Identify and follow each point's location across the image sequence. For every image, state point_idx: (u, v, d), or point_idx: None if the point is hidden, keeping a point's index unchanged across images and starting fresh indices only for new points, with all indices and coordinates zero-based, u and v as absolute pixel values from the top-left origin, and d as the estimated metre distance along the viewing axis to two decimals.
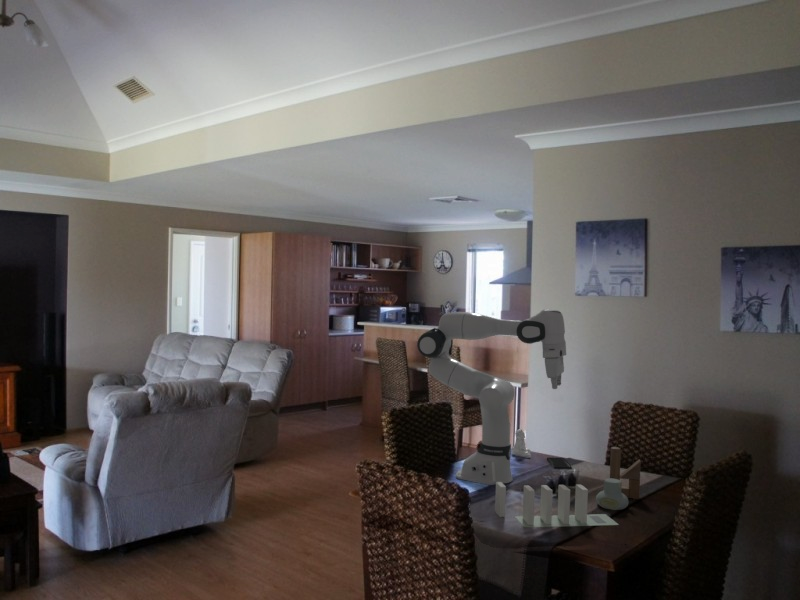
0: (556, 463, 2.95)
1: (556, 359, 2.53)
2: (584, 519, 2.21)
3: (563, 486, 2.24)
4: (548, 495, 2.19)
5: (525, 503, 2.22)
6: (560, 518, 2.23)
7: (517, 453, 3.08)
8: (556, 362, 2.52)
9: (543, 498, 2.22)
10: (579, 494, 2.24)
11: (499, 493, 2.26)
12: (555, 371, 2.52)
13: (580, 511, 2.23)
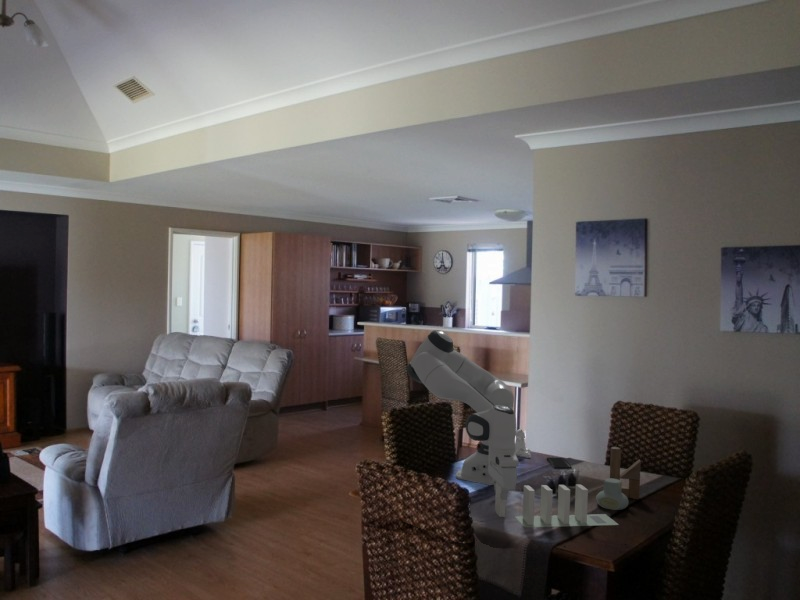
0: (556, 463, 2.95)
1: (515, 469, 2.19)
2: (584, 519, 2.21)
3: (563, 486, 2.24)
4: (548, 495, 2.19)
5: (525, 503, 2.22)
6: (560, 518, 2.23)
7: (517, 453, 3.08)
8: (516, 473, 2.19)
9: (543, 498, 2.22)
10: (579, 494, 2.24)
11: (499, 493, 2.26)
12: (514, 483, 2.18)
13: (580, 511, 2.23)
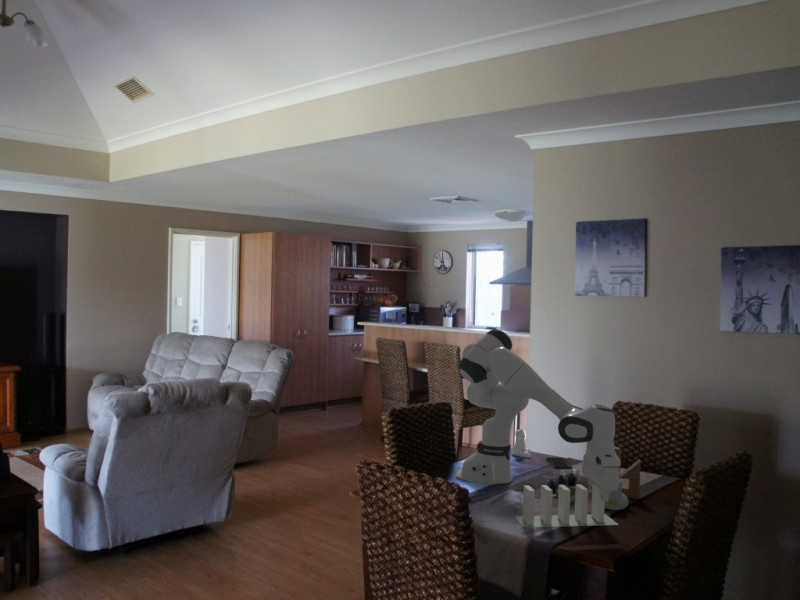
0: (556, 463, 2.95)
1: (617, 469, 2.16)
2: (584, 519, 2.21)
3: (563, 486, 2.24)
4: (548, 495, 2.19)
5: (525, 503, 2.22)
6: (560, 518, 2.23)
7: (517, 453, 3.08)
8: (618, 472, 2.16)
9: (543, 498, 2.22)
10: (579, 494, 2.24)
11: (597, 495, 2.23)
12: (617, 483, 2.15)
13: (580, 511, 2.23)
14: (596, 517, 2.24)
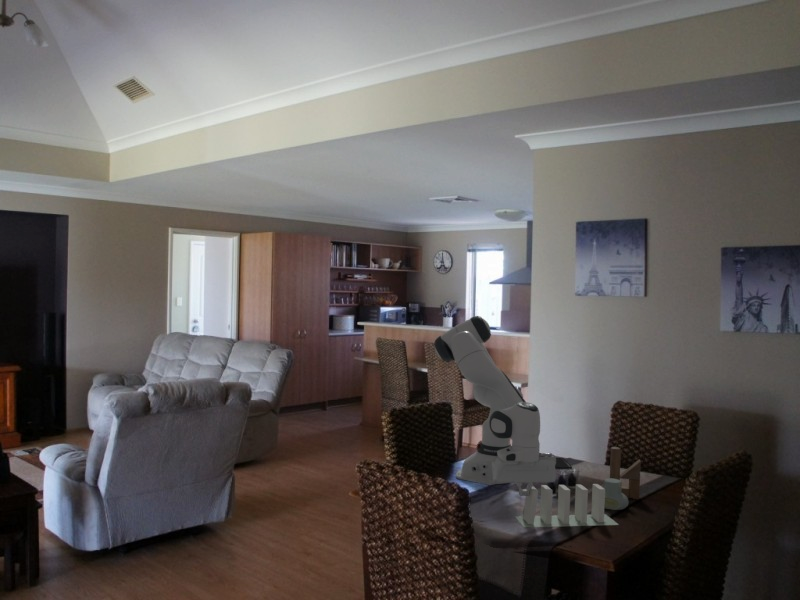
0: (556, 463, 2.95)
1: (500, 462, 2.18)
2: (584, 519, 2.21)
3: (563, 486, 2.24)
4: (548, 495, 2.19)
5: (527, 502, 2.22)
6: (560, 518, 2.23)
7: None
8: (498, 465, 2.18)
9: (543, 498, 2.22)
10: (579, 494, 2.24)
11: (597, 495, 2.23)
12: (496, 475, 2.18)
13: (580, 511, 2.23)
14: (596, 517, 2.24)
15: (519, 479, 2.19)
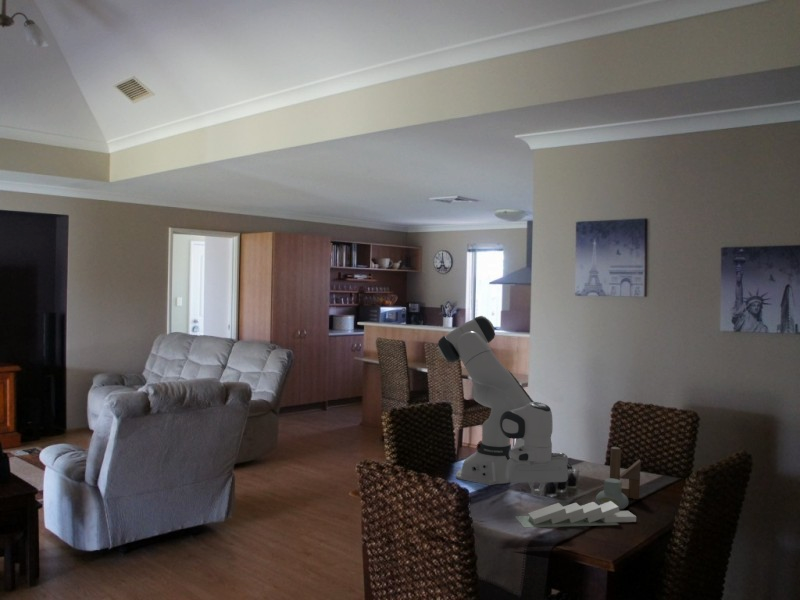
0: None
1: (513, 462, 2.18)
2: (591, 519, 2.22)
3: None
4: (578, 510, 2.21)
5: (547, 510, 2.23)
6: None
7: None
8: (511, 465, 2.18)
9: (568, 508, 2.24)
10: (608, 506, 2.25)
11: (626, 515, 2.25)
12: (508, 475, 2.19)
13: None
14: None
15: (531, 479, 2.19)
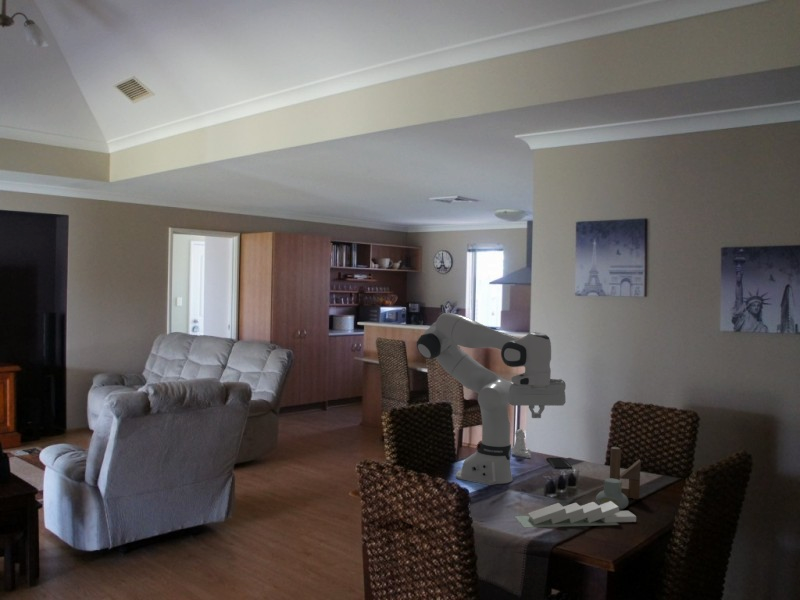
0: (556, 463, 2.95)
1: (515, 386, 2.36)
2: (591, 519, 2.22)
3: None
4: (578, 510, 2.21)
5: (547, 510, 2.23)
6: None
7: (517, 453, 3.08)
8: (513, 389, 2.36)
9: (568, 508, 2.24)
10: (608, 506, 2.25)
11: (626, 515, 2.25)
12: (511, 398, 2.37)
13: None
14: None
15: (532, 402, 2.38)
